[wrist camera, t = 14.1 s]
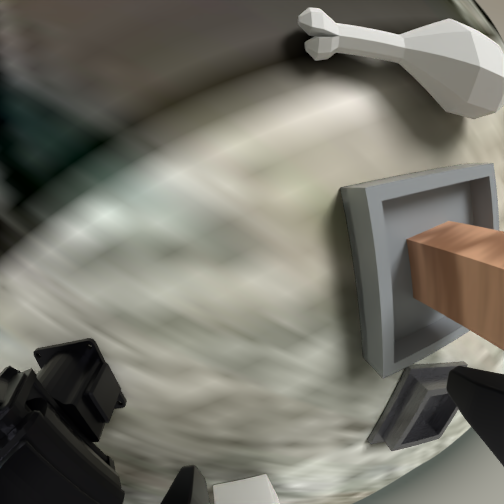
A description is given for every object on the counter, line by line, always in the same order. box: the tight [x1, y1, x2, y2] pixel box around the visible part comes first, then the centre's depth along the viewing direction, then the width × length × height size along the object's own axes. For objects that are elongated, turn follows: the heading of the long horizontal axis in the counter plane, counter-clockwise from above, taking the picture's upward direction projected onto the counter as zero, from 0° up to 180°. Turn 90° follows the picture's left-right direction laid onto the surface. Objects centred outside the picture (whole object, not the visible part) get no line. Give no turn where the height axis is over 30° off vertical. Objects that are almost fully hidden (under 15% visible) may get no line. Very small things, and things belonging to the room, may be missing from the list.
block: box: [406, 221, 504, 350], centre depth 15 cm, size 5×5×12 cm
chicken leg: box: [298, 8, 504, 119], centre depth 15 cm, size 8×18×8 cm, turn 90°
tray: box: [340, 163, 499, 378], centre depth 20 cm, size 14×14×4 cm
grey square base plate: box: [367, 361, 468, 451], centre depth 24 cm, size 10×10×3 cm
